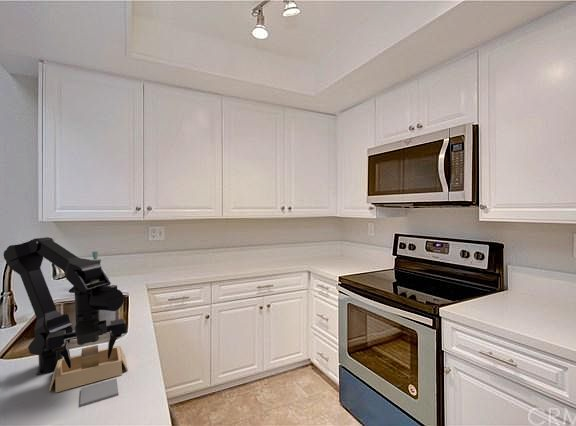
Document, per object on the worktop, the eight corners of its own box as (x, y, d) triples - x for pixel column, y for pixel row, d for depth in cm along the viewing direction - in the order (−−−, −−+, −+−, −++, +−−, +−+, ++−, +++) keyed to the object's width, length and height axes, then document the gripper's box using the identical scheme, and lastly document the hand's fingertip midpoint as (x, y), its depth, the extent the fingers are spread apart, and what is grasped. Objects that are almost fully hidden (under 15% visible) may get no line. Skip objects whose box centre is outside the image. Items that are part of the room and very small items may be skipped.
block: (82, 368, 91) (81, 348, 91) (98, 364, 93) (97, 344, 93) (81, 380, 85) (80, 358, 85) (99, 376, 87) (98, 354, 87)
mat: (81, 392, 80) (81, 388, 80) (116, 381, 85) (116, 378, 84) (80, 408, 74) (79, 404, 73) (118, 396, 78) (118, 392, 78)
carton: (54, 372, 90) (53, 359, 90) (124, 355, 100) (123, 342, 100) (48, 397, 78) (47, 381, 78) (128, 375, 88) (127, 360, 88)
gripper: (41, 324, 76) (44, 387, 76) (127, 309, 86) (129, 365, 86) (47, 311, 85) (49, 368, 86) (124, 299, 95) (126, 349, 96)
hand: (89, 362), depth 88 cm, fingers open, 9 cm apart
